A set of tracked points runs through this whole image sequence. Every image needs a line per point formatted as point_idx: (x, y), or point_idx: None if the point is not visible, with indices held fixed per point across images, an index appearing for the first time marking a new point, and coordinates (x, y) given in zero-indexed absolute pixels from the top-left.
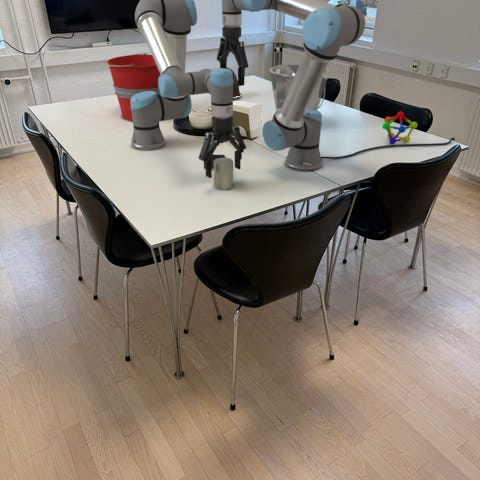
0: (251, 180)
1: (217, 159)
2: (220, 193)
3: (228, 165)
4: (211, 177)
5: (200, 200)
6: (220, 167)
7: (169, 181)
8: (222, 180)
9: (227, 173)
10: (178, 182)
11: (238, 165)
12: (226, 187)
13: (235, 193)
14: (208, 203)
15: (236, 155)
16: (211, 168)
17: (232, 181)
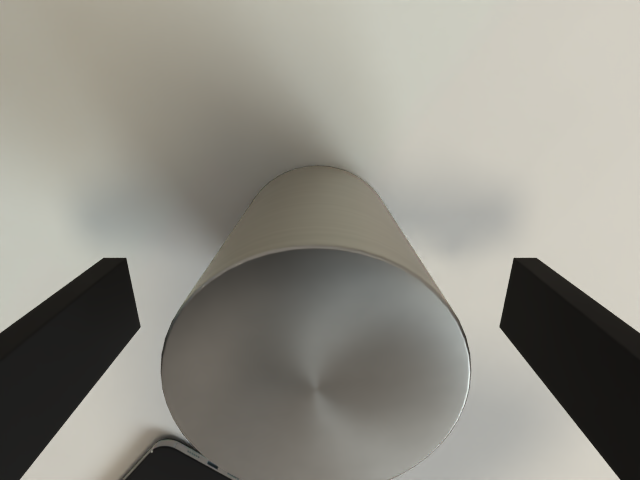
0: (67, 183)
1: (340, 473)
2: (427, 145)
3: (332, 239)
4: (520, 259)
5: (630, 143)
6: (438, 288)
7: (535, 476)
8: (385, 209)
9: (345, 204)
10: (509, 442)
11: (103, 286)
12: (346, 173)
13: (331, 59)
14: (635, 51)
15: (21, 417)
16: (229, 475)
17: (270, 187)
